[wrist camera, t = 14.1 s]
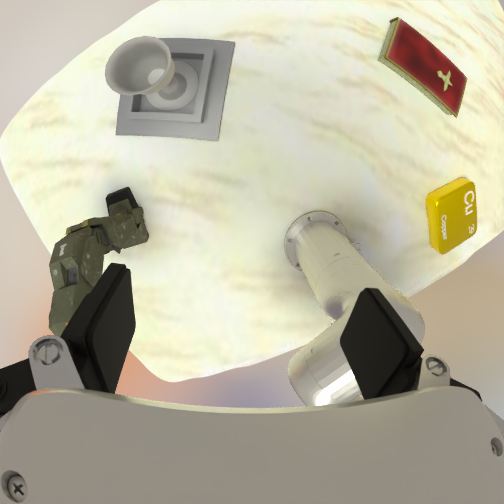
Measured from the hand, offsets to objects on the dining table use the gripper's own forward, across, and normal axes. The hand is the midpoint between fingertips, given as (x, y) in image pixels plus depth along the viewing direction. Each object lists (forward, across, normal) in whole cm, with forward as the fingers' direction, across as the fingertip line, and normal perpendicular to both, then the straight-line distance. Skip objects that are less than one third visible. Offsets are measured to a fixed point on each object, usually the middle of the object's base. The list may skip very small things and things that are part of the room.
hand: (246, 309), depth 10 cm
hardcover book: (+39, -34, -30) cm, 60 cm away
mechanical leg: (+38, +18, +12) cm, 44 cm away
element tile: (+39, -52, 0) cm, 65 cm away
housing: (+38, +12, -13) cm, 42 cm away
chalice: (+37, +12, -13) cm, 41 cm away
